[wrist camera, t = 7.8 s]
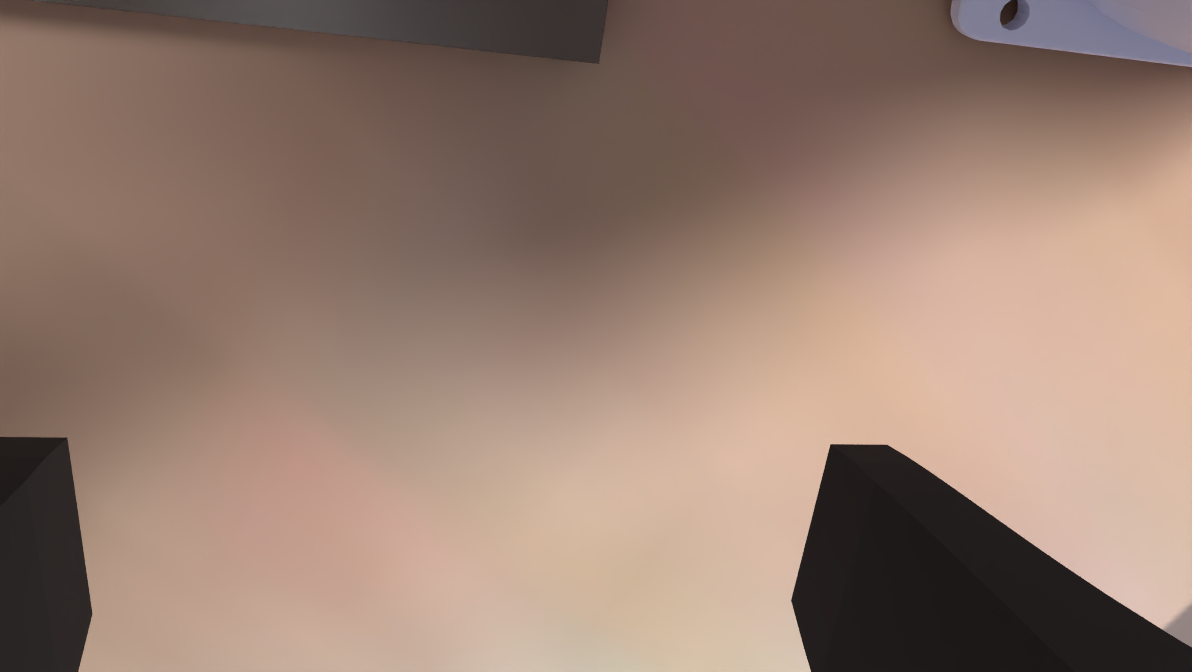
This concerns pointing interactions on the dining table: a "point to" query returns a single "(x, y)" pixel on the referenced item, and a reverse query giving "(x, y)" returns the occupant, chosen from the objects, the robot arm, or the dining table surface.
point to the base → (411, 21)
